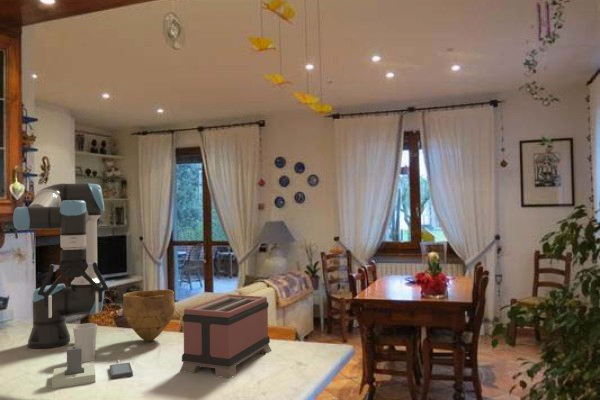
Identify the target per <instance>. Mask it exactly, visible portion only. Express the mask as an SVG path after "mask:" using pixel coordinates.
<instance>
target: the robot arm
mask: <svg viewBox="0 0 600 400" xmlns="http://www.w3.org/2000/svg"><path fill="white" fill-rule="evenodd" d="M102 212H105V203H104V195H103V190H102V187H101V185H100V184H97V183H57V184H52V185H48V186H46V187H44V188H42V189H40V190H39V191H37V192H36V194H35V195H34V198H33V201H32V202H31V203H30V205H28V206H25V205H23V206H17V207H16V208H14V211H13V217H12V220H13V226H14V228H15V229H16V230H17V231H18V230H21V231H23V230H24V231H25V230H26V231H28V230H30V231H31V230H60V237H59V238H60V239H59V240H60V248H61V250H60V264H53V263H52V264H50V265H49V270H48V272H47V275H46V276H45V278H44V281H43V282H42V285H41V286H40V287H39V288H36V289H35V290H34V291H33V293H32V300H31V301H32V328H31V330H30V333H29V336H28V340H27V347H28V348H30V349H35V350H36V349H37V350H38V349H42V350H43V349H51V348H56V347H60V346H64V345H66V344H69V343H70V342H71V334H70V332H69V328H68V326H67V323H66V317H72V316H85V315H89V316H90V315H95V314H99V313H101V312H102V310H103V307H104V296H105V291H107V290H108V289H109V287H108V285H107V283H106V280H104V277H103V276H102V274H101V272H100V271H99V269H98V219H100V218H101V216H102ZM57 270H59V271H60V272H61V274H60V275H59V276H58V278H56V280H55V281H54V282H53V283H52V284H50V285H48V283H49V282H50V279H51V278H52V276H53V274H54V272H55V273H56V271H57ZM64 278H67V279H71V278H74V279H73V280H72V281H71V282H70V286H67V287H66V285H65V283H61V282H62V281H63V280H64Z"/></svg>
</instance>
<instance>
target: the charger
mask: <svg viewBox="0 0 600 400" xmlns="http://www.w3.org/2000/svg"><path fill="white" fill-rule="evenodd" d="M82 365H83V362H82V349H81V345H79V346H75V345H72V346H67V347H66V367H67V375H72V374H79V373H82Z"/></svg>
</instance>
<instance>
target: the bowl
mask: <svg viewBox="0 0 600 400" xmlns="http://www.w3.org/2000/svg"><path fill="white" fill-rule="evenodd" d="M122 298H123V300H122V313H123V314H122V315H123V316H124V318H125V320H126V322H127V324H128V325H129V326H130V328H131V329H132V330H133V331H134V332H135V333H136V335H138V337H139V338H140V339H142V340H144V341H146V342H152V341H154V340H156V338H157V337H159V336H160V335H161V333H163V331H164V329H165V328H166V327H167V326H168V325H169V324H170V322H171V321H172V319H173V316H174V314H175V309H176V302H175V292H174V291H173V289H172V290H171V289H155V290H137V291H130V292H125V293H123V295H122Z"/></svg>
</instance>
